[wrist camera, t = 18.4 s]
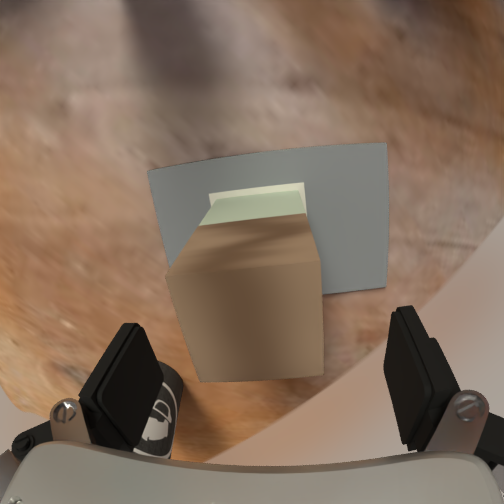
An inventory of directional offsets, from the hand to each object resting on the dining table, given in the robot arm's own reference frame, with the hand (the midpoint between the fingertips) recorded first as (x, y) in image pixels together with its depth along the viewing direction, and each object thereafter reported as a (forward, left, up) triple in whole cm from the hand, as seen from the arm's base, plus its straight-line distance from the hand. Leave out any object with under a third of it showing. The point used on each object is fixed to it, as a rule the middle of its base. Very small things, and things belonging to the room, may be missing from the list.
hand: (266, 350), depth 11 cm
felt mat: (0, +1, -14) cm, 14 cm away
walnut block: (+1, +1, -8) cm, 8 cm away
